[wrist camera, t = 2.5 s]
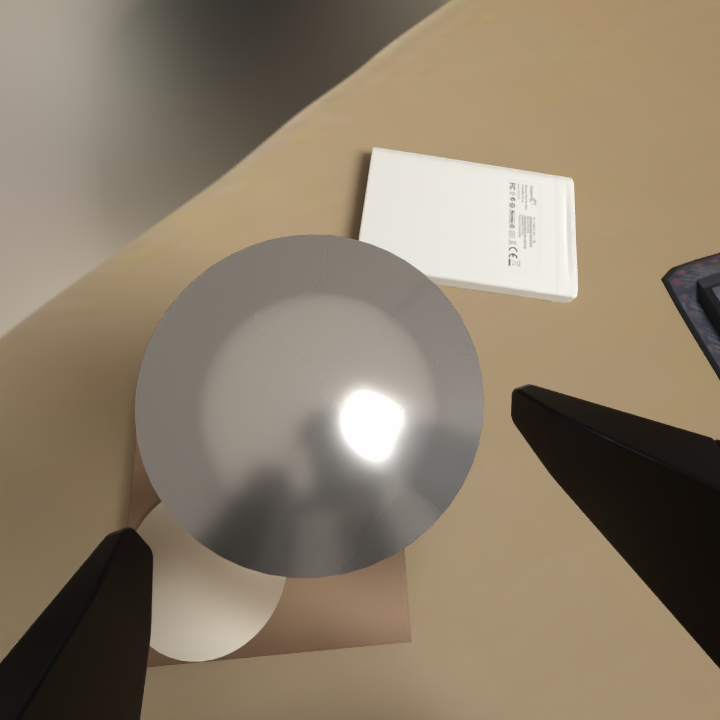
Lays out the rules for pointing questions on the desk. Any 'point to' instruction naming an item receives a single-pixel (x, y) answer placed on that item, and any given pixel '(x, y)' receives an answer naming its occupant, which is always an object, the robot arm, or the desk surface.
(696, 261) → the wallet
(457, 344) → the steel pin
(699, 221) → the desk surface
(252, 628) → the board
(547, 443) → the robot arm
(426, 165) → the external hard drive
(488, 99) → the desk surface
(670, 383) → the desk surface
